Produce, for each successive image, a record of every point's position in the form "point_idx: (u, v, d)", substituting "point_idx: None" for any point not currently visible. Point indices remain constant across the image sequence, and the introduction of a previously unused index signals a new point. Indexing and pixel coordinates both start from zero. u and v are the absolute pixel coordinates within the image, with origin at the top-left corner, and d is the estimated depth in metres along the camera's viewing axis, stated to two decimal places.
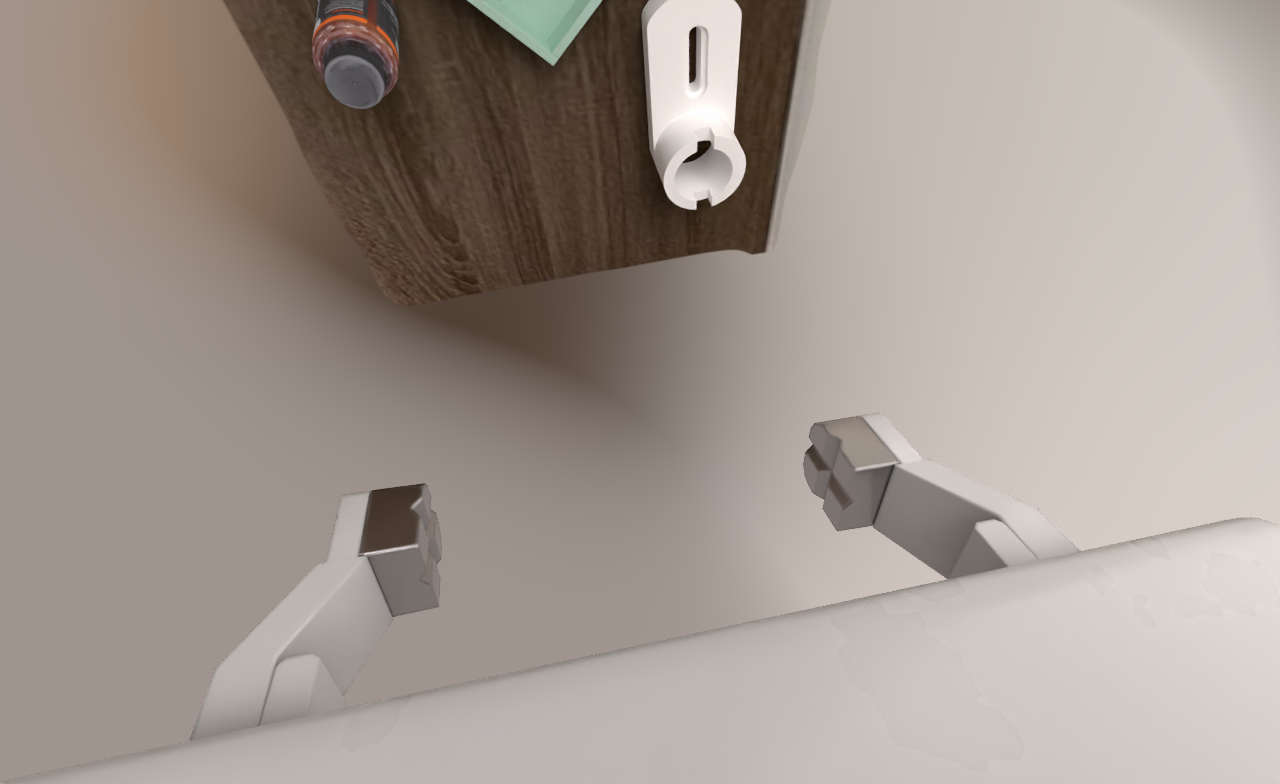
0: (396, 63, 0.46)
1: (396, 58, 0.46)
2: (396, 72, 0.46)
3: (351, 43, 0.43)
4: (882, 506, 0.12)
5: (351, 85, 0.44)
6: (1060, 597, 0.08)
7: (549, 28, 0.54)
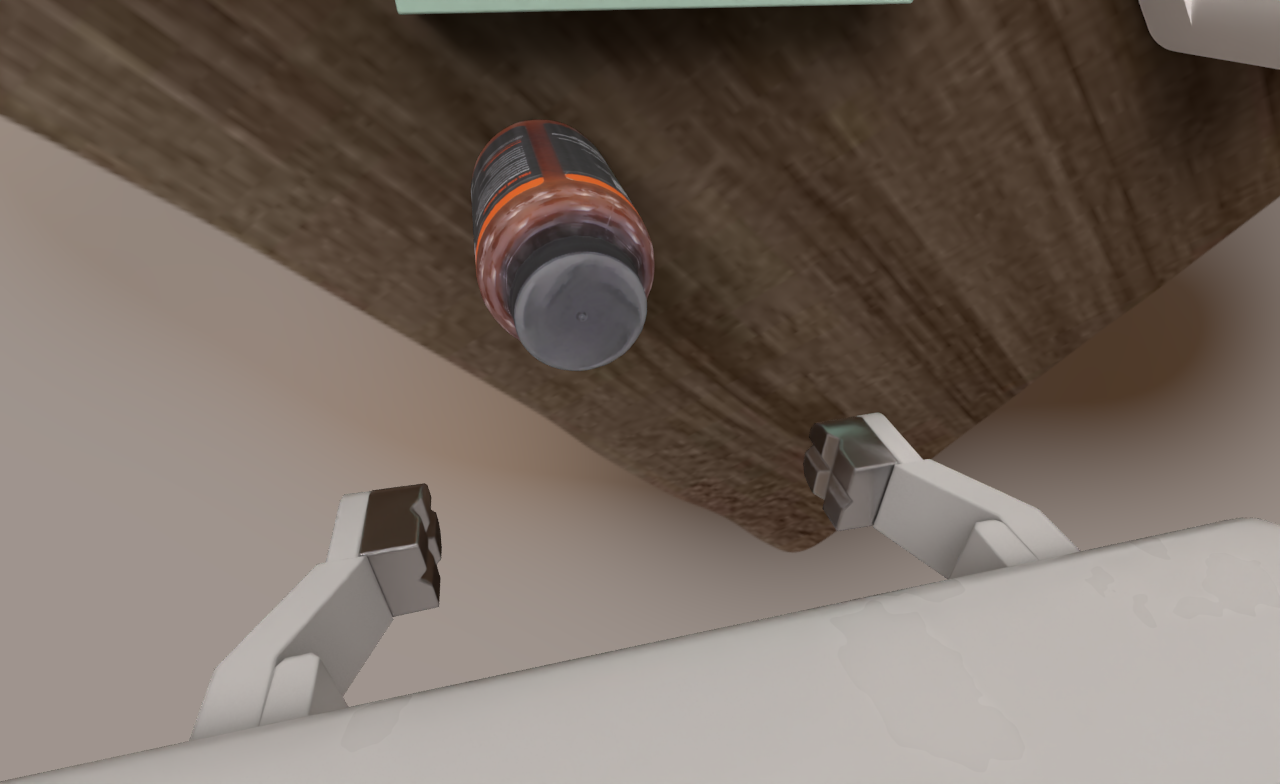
0: (636, 217, 0.19)
1: (631, 208, 0.19)
2: (645, 235, 0.19)
3: (536, 240, 0.18)
4: (882, 506, 0.12)
5: (578, 324, 0.18)
6: (1060, 597, 0.08)
7: None
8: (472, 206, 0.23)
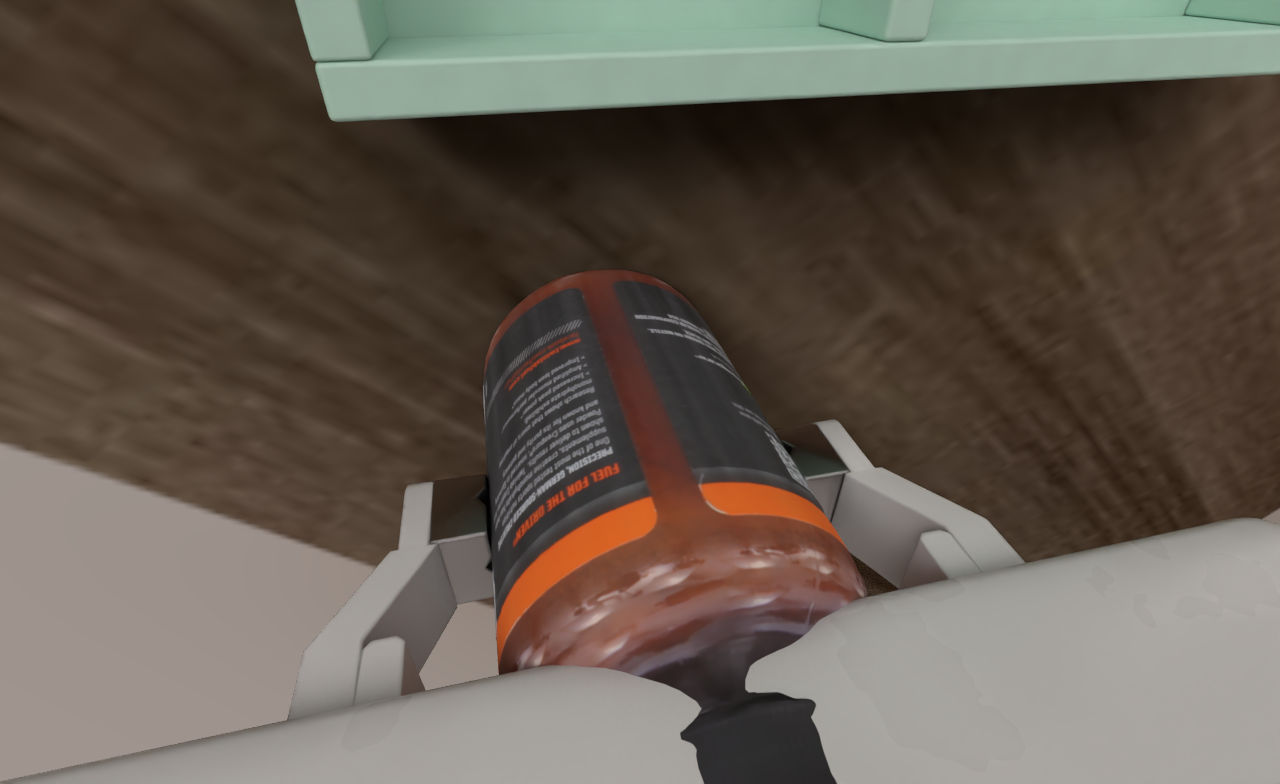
0: (852, 573, 0.09)
1: (839, 549, 0.09)
2: None
3: None
4: (835, 515, 0.12)
5: None
6: (1060, 597, 0.08)
7: None
8: (486, 442, 0.13)
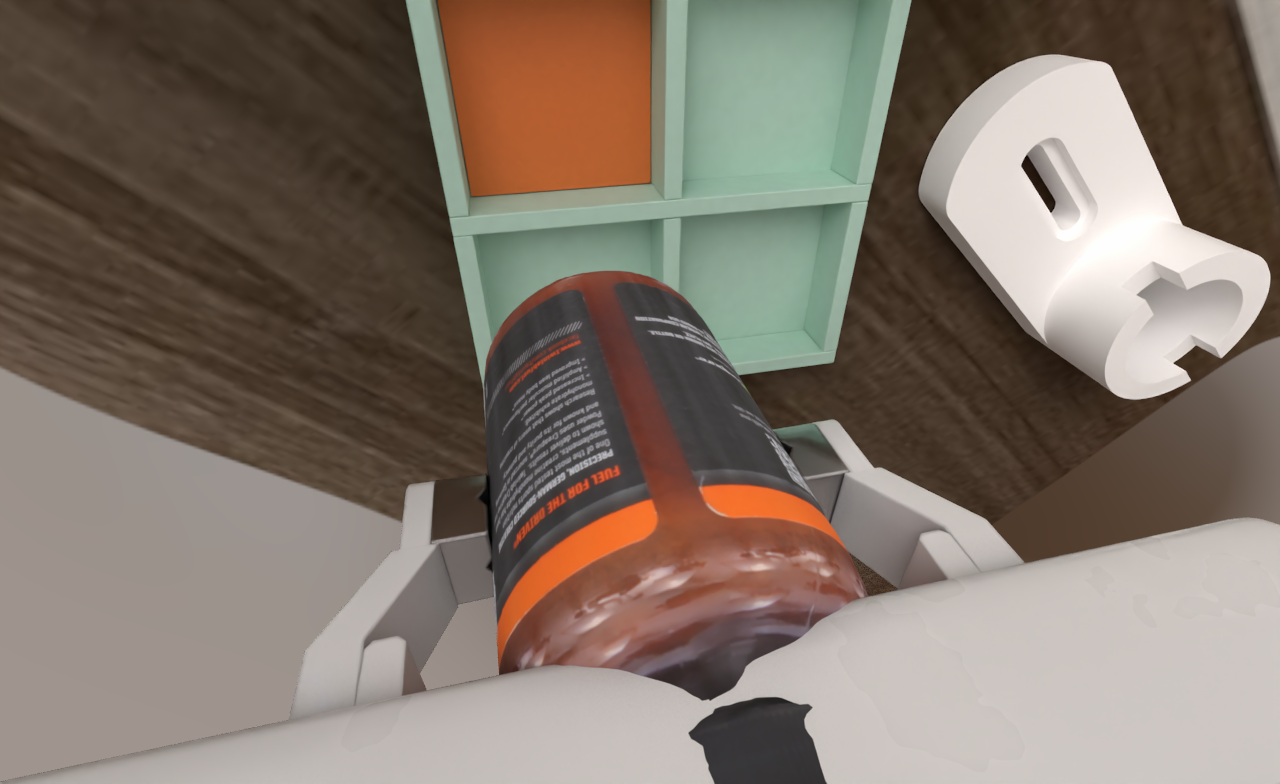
0: (852, 575, 0.09)
1: (839, 552, 0.09)
2: None
3: None
4: (834, 515, 0.12)
5: None
6: (1060, 597, 0.08)
7: (797, 317, 0.34)
8: (486, 444, 0.13)
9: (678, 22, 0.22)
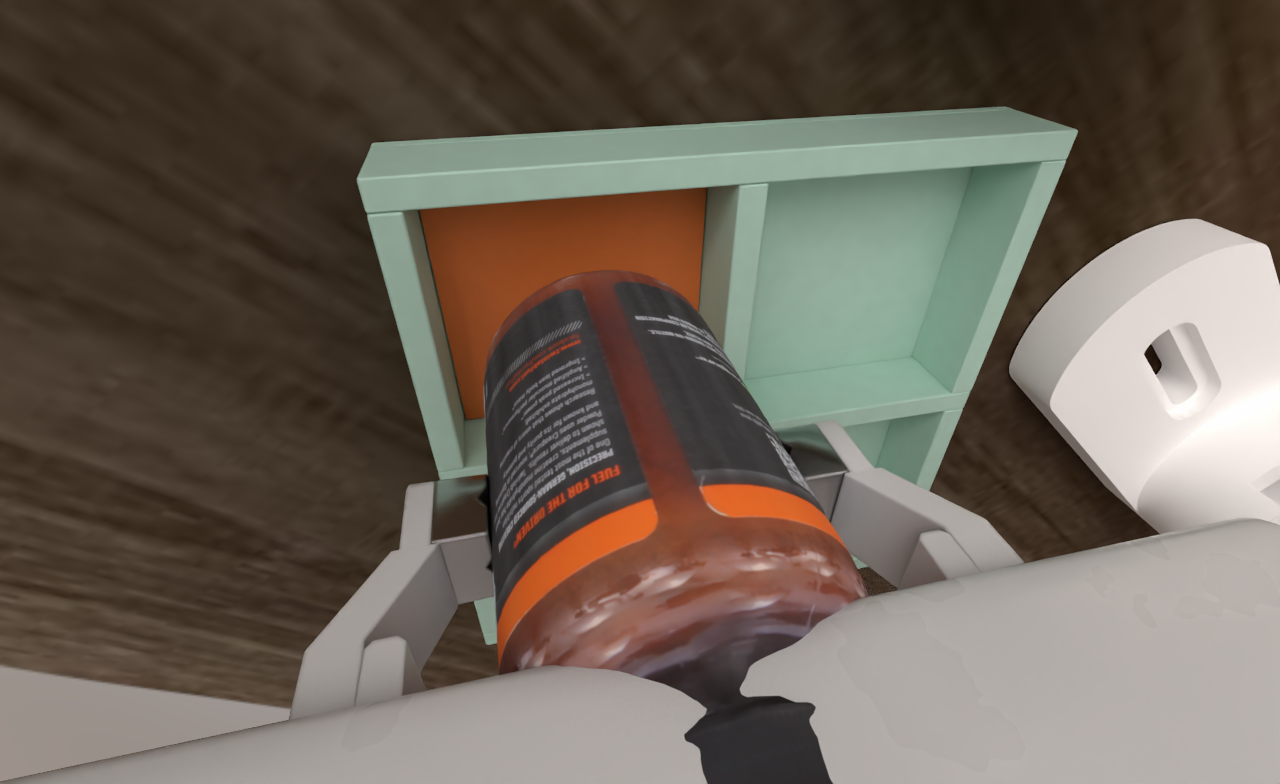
0: (853, 575, 0.09)
1: (840, 552, 0.09)
2: None
3: None
4: (835, 515, 0.12)
5: None
6: (1060, 597, 0.08)
7: None
8: (486, 443, 0.13)
9: (749, 244, 0.16)
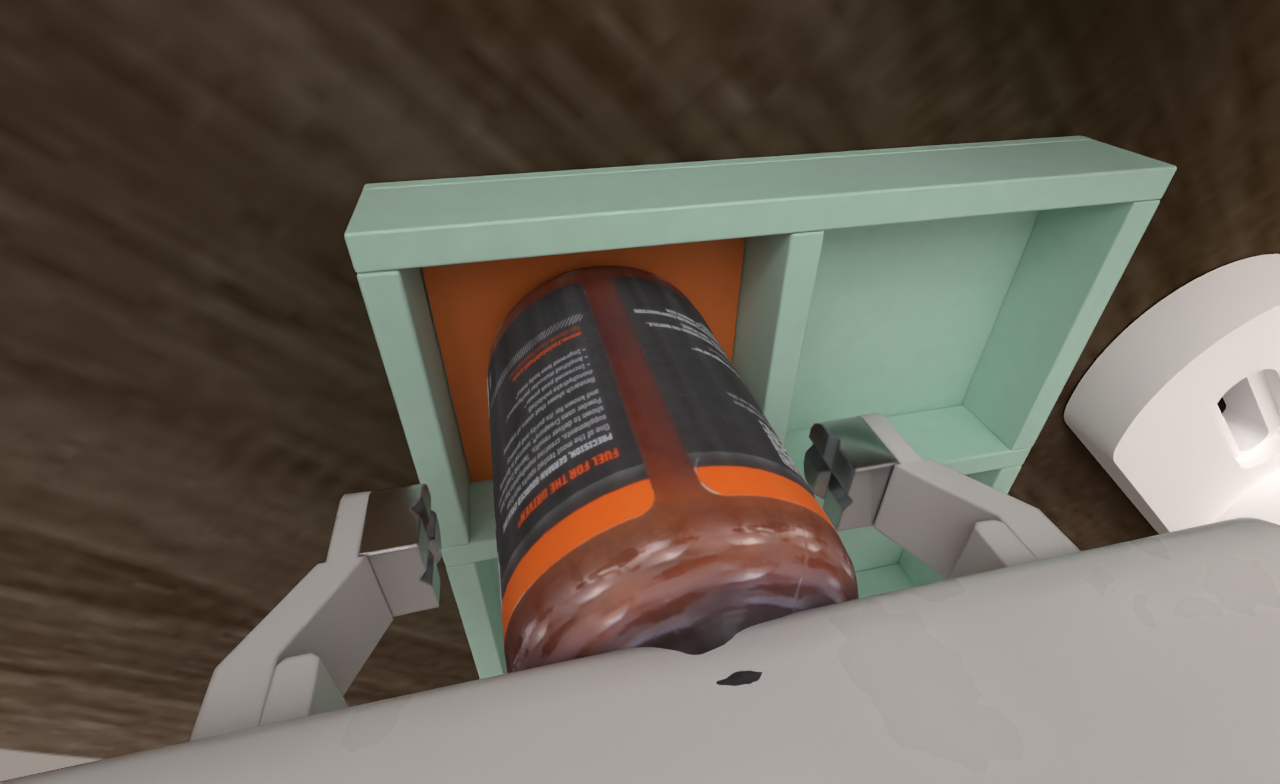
0: (840, 552, 0.09)
1: (828, 530, 0.09)
2: (853, 580, 0.09)
3: None
4: (882, 506, 0.12)
5: None
6: (1060, 597, 0.08)
7: (892, 552, 0.26)
8: (490, 432, 0.13)
9: (799, 298, 0.14)
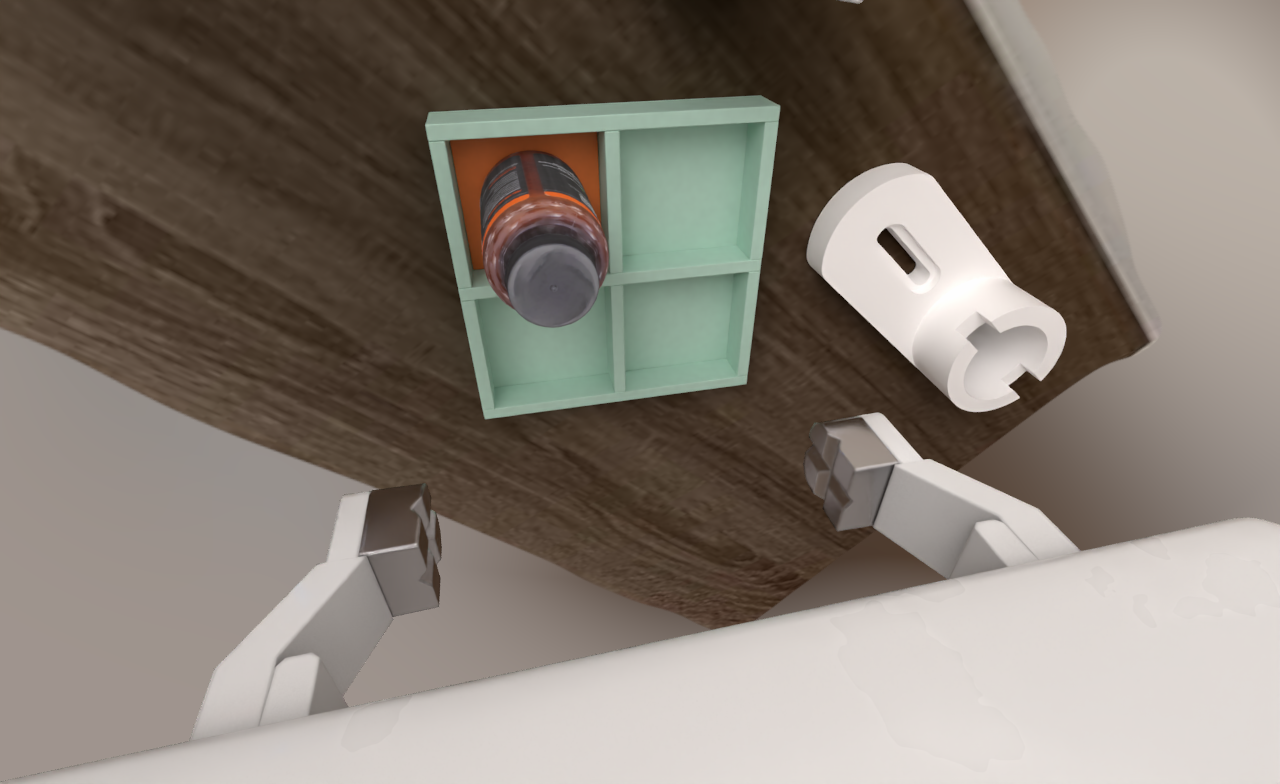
0: (593, 221, 0.27)
1: (590, 215, 0.28)
2: (600, 234, 0.28)
3: (523, 236, 0.26)
4: (882, 506, 0.12)
5: (551, 293, 0.26)
6: (1060, 597, 0.08)
7: (720, 349, 0.44)
8: (480, 214, 0.31)
9: (613, 162, 0.32)
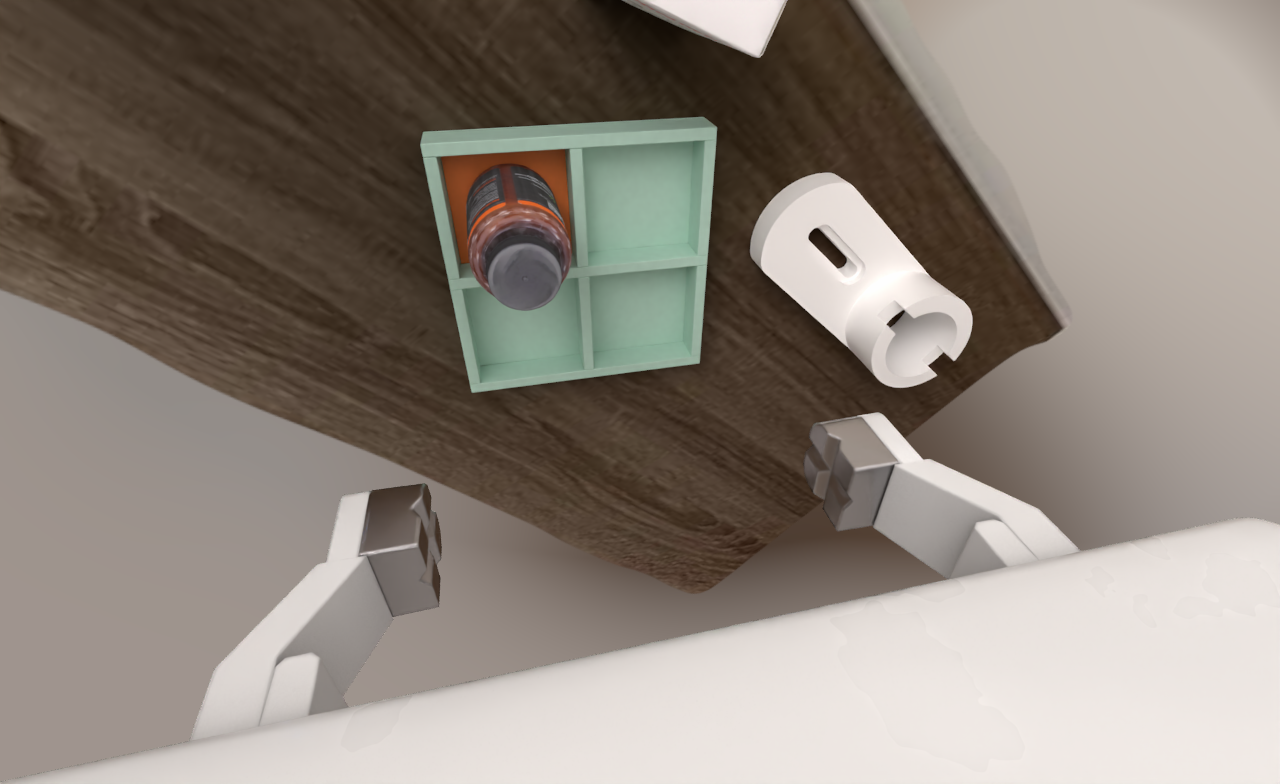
0: (558, 224, 0.34)
1: (555, 219, 0.34)
2: (563, 234, 0.34)
3: (500, 237, 0.32)
4: (882, 506, 0.12)
5: (523, 283, 0.33)
6: (1060, 597, 0.08)
7: (677, 333, 0.51)
8: None
9: (578, 174, 0.39)
